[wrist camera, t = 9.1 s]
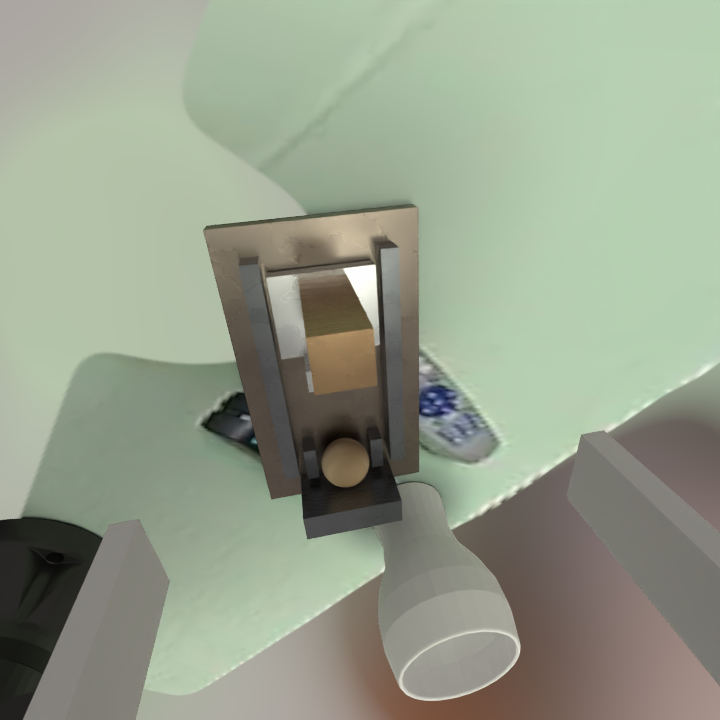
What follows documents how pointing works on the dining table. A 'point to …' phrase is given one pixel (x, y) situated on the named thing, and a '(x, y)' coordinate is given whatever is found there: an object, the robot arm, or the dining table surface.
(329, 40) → the dining table surface
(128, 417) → the dining table surface
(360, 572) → the dining table surface
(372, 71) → the dining table surface
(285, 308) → the wooden press block
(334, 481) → the nut
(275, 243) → the press base
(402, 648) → the cup
